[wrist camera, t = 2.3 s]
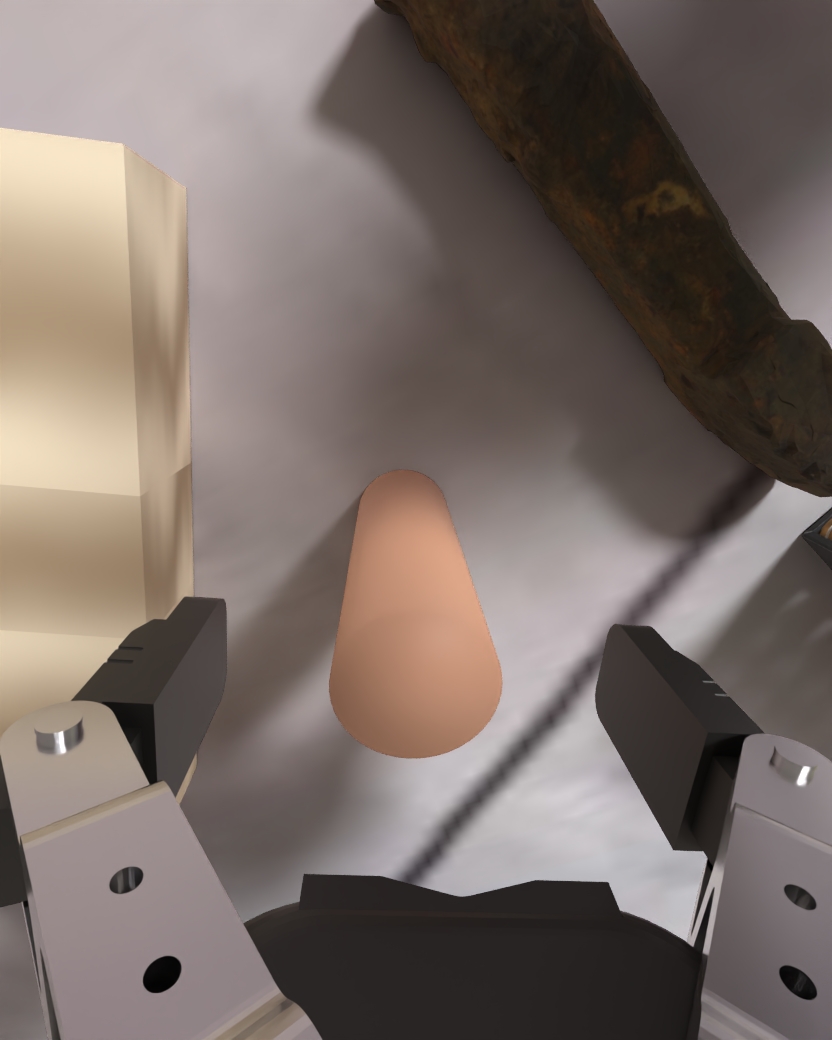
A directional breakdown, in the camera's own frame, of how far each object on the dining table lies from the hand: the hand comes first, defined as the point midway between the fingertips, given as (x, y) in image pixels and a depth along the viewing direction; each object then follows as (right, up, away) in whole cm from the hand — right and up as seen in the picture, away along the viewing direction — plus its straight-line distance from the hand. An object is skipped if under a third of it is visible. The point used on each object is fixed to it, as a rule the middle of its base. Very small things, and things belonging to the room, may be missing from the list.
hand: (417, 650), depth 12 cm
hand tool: (+7, +11, +6) cm, 14 cm away
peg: (-1, +3, +7) cm, 8 cm away
